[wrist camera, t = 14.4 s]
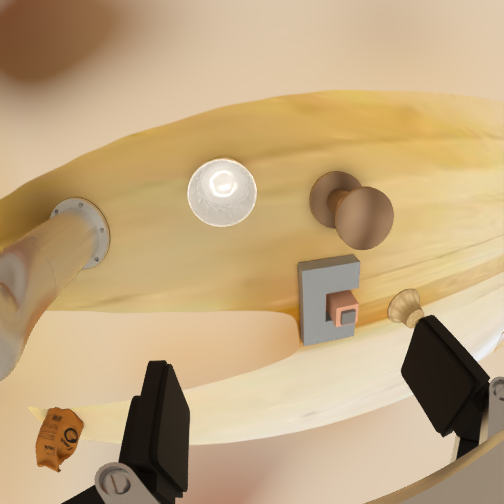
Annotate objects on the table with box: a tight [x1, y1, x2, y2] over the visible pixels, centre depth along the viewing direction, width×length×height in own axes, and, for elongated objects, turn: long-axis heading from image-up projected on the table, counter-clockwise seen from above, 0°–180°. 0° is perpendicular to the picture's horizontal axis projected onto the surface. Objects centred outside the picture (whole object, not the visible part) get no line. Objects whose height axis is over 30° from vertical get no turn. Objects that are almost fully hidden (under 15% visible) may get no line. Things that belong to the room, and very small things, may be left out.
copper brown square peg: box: [326, 290, 359, 327], centre depth 47 cm, size 4×4×7 cm
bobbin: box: [310, 171, 394, 250], centre depth 38 cm, size 9×9×11 cm
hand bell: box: [388, 289, 424, 328], centre depth 46 cm, size 8×8×16 cm
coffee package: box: [36, 407, 83, 472], centre depth 53 cm, size 10×12×22 cm
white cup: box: [187, 158, 257, 227], centre depth 36 cm, size 8×8×10 cm
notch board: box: [298, 255, 360, 346], centre depth 49 cm, size 16×10×3 cm, turn 7°
